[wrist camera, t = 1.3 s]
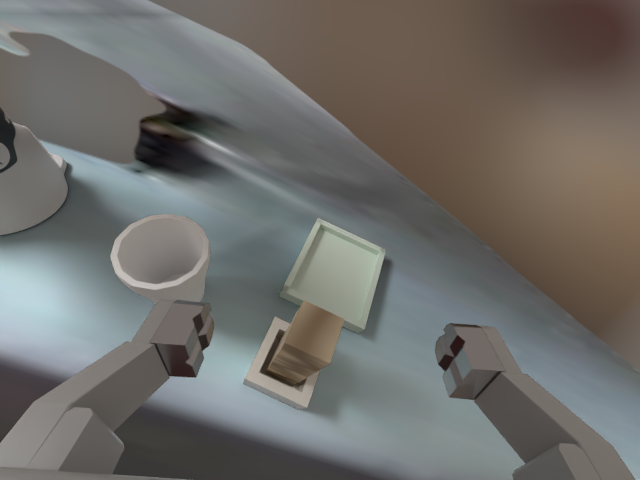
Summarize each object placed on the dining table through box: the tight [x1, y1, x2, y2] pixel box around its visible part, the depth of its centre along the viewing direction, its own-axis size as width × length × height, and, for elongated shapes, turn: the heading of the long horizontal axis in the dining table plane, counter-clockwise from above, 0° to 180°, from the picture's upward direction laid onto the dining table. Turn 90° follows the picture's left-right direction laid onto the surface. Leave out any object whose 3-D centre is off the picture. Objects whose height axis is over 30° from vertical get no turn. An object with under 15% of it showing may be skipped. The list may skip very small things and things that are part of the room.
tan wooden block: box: [265, 300, 345, 386], centre depth 31 cm, size 4×4×18 cm
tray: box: [279, 218, 386, 334], centre depth 48 cm, size 14×16×2 cm
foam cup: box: [110, 214, 210, 304], centre depth 35 cm, size 10×9×13 cm
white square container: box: [243, 317, 320, 409], centre depth 37 cm, size 8×8×6 cm
